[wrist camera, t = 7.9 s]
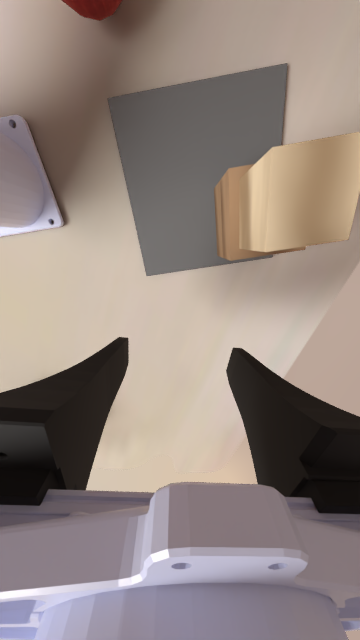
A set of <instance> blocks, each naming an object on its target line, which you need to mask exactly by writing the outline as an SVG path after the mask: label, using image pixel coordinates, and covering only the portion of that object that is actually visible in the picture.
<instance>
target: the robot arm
mask: <svg viewBox="0 0 360 640" xmlns="http://www.w3.org/2000/svg"><path fill="white" fill-rule="evenodd" d="M13 123H16V128H14V127H13ZM51 220H53V221H54V224H52V223H51ZM63 224H64V222H63V219H62V216H61V213H60V210H59V208H58V205H57V202H56V200H55V197H54V194H53V192H52V189H51V186H50V183H49V181H48V178H47V175H46V173H45V170H44V167H43V165H42V162H41V159H40V156H39V154H38V151H37V148H36V146H35V143H34V140H33V137H32V135H31V132H30V129H29V127H28V124H27V122H26V121H25V120H24V119H23V118H22V117H21V116H19V115H11V116H6V117H1V118H0V237H3V236H9V235H15V234H21V233H27V232H34V231H40V230H46V229H52V228H58V227H62V226H63ZM127 366H128V338H123V337H119V338H117V339H116V340H114V341H113V342H111V343H110V344H109V345H107V346H106V347H104V348H103V349H101V350H100V351H99V352H97V353H95V354H94V355H92V356H91V357H89V358H87V359H86V360H84V361H82V362H80V363H78V364H77V365H75V366H73V367H71V368H69V369H66V370H64V371H62V372H60V373H57V374H55V375H53V376H50V377H48V378H45V379H43V380H40V381H37V382H34V383H31V384H28V385H26V386H22V387H19V388H16V389H12V390H9V391H6V392H2V393H0V639H5V640H348V637H347V635H346V632H345V631H352V630H360V417H359V416H356V415H354V414H351V413H349V412H346V411H344V410H341V409H339V408H337V407H335V406H332V405H330V404H328V403H326V402H324V401H322V400H320V399H318V398H316V397H314V396H312V395H310V394H308V393H306V392H304V391H302V390H301V389H299V388H297V387H295V386H294V385H292V384H290V383H289V382H287V381H286V380H284V379H283V378H281V377H280V376H278V375H277V374H275V373H274V372H272V371H271V370H270V369H268V368H267V367H266V366H264V365H263V364H262V363H260V362H259V361H258V360H257V359H255V358H254V357H253V356H251V355H250V354H249V353H247V352H246V351H245V350H243V349H242V348H233V350H232V353H231V356H230V360H229V363H228V367H227V370H226V372H227V377H228V381H229V385H230V387H231V390H232V393H233V396H234V398H235V401H236V403H237V406H238V409H239V411H240V414H241V417H242V420H243V423H244V427H245V430H246V434H247V438H248V442H249V446H250V450H251V454H252V458H253V463H254V468H255V472H256V477H257V482H258V484H230V483H204V482H181V483H171V484H169V485H167V486H164V487H162V488H160V489H158V490H157V491H156V492H155V493H148V492H118V491H116V492H115V491H86V486H87V483H88V479H89V476H90V472H91V469H92V465H93V462H94V458H95V455H96V452H97V448H98V445H99V442H100V438H101V435H102V432H103V429H104V426H105V423H106V420H107V417H108V414H109V411H110V408H111V406H112V404H113V401H114V399H115V397H116V395H117V392H118V390H119V388H120V385H121V383H122V381H123V379H124V376H125V373H126V370H127Z"/></svg>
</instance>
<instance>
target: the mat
mask: <svg viewBox="0 0 360 640" xmlns="http://www.w3.org/2000/svg"><path fill="white" fill-rule="evenodd" d="M286 76H287V63H286V64H281V65H275V66H270V67H265V68H260V69H255V70H250V71H245V72H239V73H234V74H229V75H224V76H219V77H214V78H209V79H204V80H198V81H193V82H188V83H183V84H178V85H173V86H168V87H162V88H157V89H152V90H147V91H142V92H137V93H132V94H127V95H121V96H116V97H111V98H108V103H109V107H110V112H111V116H112V121H113V125H114V130H115V135H116V139H117V144H118V148H119V153H120V157H121V162H122V166H123V171H124V175H125V180H126V184H127V189H128V193H129V198H130V203H131V207H132V212H133V216H134V221H135V225H136V230H137V234H138V239H139V243H140V248H141V252H142V257H143V262H144V266H145V271H146V275H147V276H151V275H158V274H164V273H171V272H178V271H184V270H191V269H198V268H204V267H211V266H218V265H224V264H231V263H238V262H244V261H251V260H258V259H264V258H271V257H273V254H272V255H265V256H259V257H252V258H246V259H239V260H232V261H230V260H227V259H224V258H222V257H219V256H217V239H216V219H215V199H214V188H215V186H216V185H217V184H218V182H219V181H220V180H221V178H222V177H223V175H224V174H225V173H226V171H227V170H228V169H229V168H234V167H240V166H245V165H251V164H256V163H257V162H258V161H259V160H260V159H261V158H262V157H263V156H264V155H265V154H266V153H267V152H268V151H269V150H270V149H271V148H272V147H277V146H281V142H282V129H283V115H284V102H285V89H286Z"/></svg>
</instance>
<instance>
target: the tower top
mask: <svg viewBox="0 0 360 640" xmlns="http://www.w3.org/2000/svg"><path fill="white" fill-rule="evenodd" d="M253 165H254V164H251V165H245V166H240V167H234V168H229V169H228V170H227V171H226V173H225V174H224V175H223V177H222V178H221V180H220V191H221V218H222V244H223V258H224V259H227V260H230V261H232V260H239V259H246V258H252V257H259V256H265V255H272V254H279V253H285V252H292V251H298V250H305V247H306V246H304V247H297V248H291V249H284V250H277V251H271V252H260V251H252V250H245V249H239V179H240V178H241V177H242V176H243V175H244V174H245V173H246V172H247V171H248V170H249V169H250V168H251V167H252V166H253Z"/></svg>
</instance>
